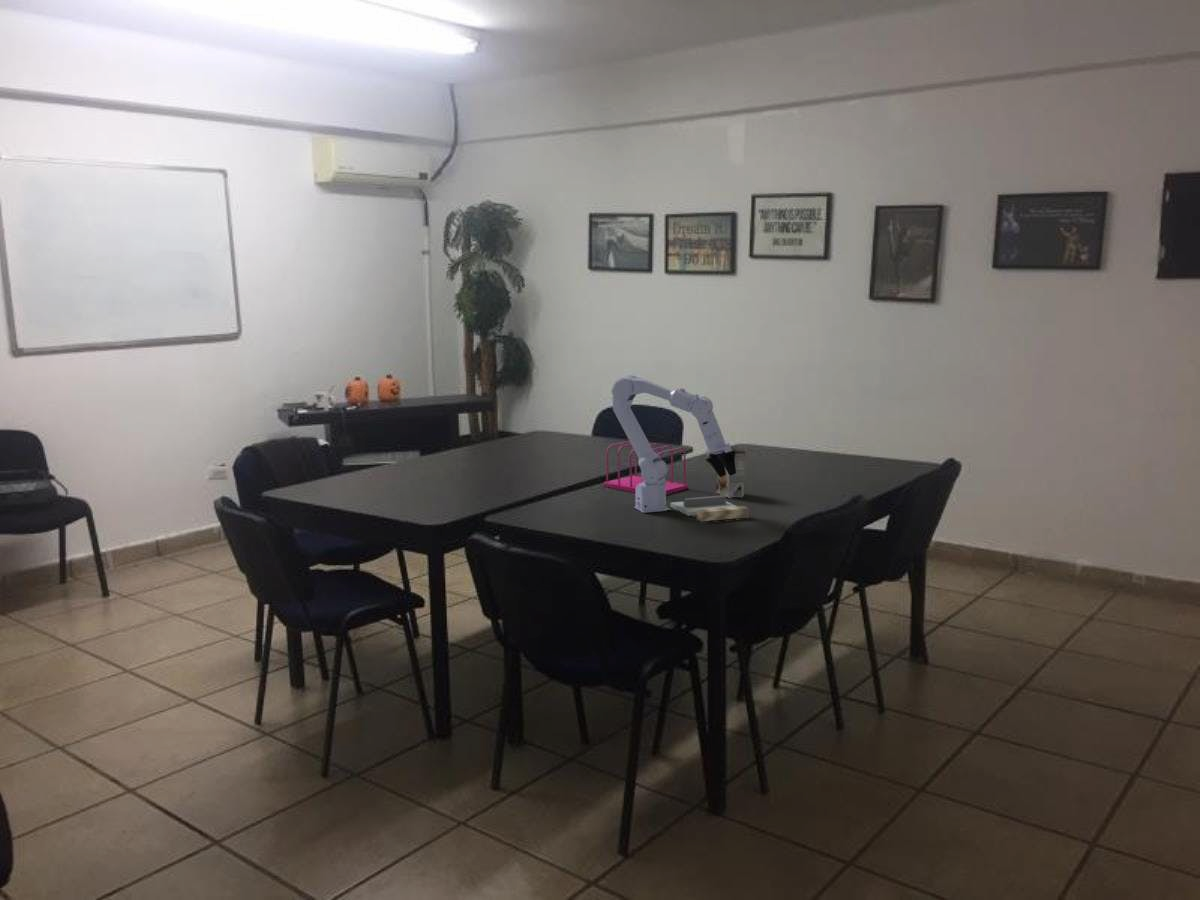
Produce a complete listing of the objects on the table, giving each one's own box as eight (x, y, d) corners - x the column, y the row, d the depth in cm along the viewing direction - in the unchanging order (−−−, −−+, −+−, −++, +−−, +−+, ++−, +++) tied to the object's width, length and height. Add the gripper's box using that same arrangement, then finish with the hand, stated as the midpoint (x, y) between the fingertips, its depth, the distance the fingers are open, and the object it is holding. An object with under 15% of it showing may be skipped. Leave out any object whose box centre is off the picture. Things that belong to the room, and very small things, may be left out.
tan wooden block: (701, 523, 294) (701, 512, 293) (696, 520, 297) (696, 509, 296) (748, 519, 299) (748, 508, 298) (743, 516, 302) (743, 505, 301)
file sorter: (656, 497, 328) (657, 452, 325) (603, 487, 345) (603, 444, 342) (688, 489, 340) (689, 445, 337) (635, 479, 357) (635, 438, 354)
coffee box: (715, 493, 333) (716, 447, 330) (731, 491, 336) (732, 446, 333) (727, 498, 325) (728, 451, 322) (744, 497, 327) (745, 450, 324)
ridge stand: (688, 516, 300) (688, 504, 300) (670, 507, 314) (670, 495, 313) (739, 512, 306) (740, 499, 306) (720, 502, 319) (720, 490, 319)
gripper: (732, 427, 294) (748, 469, 294) (713, 432, 308) (729, 471, 308) (713, 435, 292) (729, 477, 292) (694, 440, 306) (710, 479, 306)
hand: (727, 475), depth 300 cm, fingers open, 7 cm apart
